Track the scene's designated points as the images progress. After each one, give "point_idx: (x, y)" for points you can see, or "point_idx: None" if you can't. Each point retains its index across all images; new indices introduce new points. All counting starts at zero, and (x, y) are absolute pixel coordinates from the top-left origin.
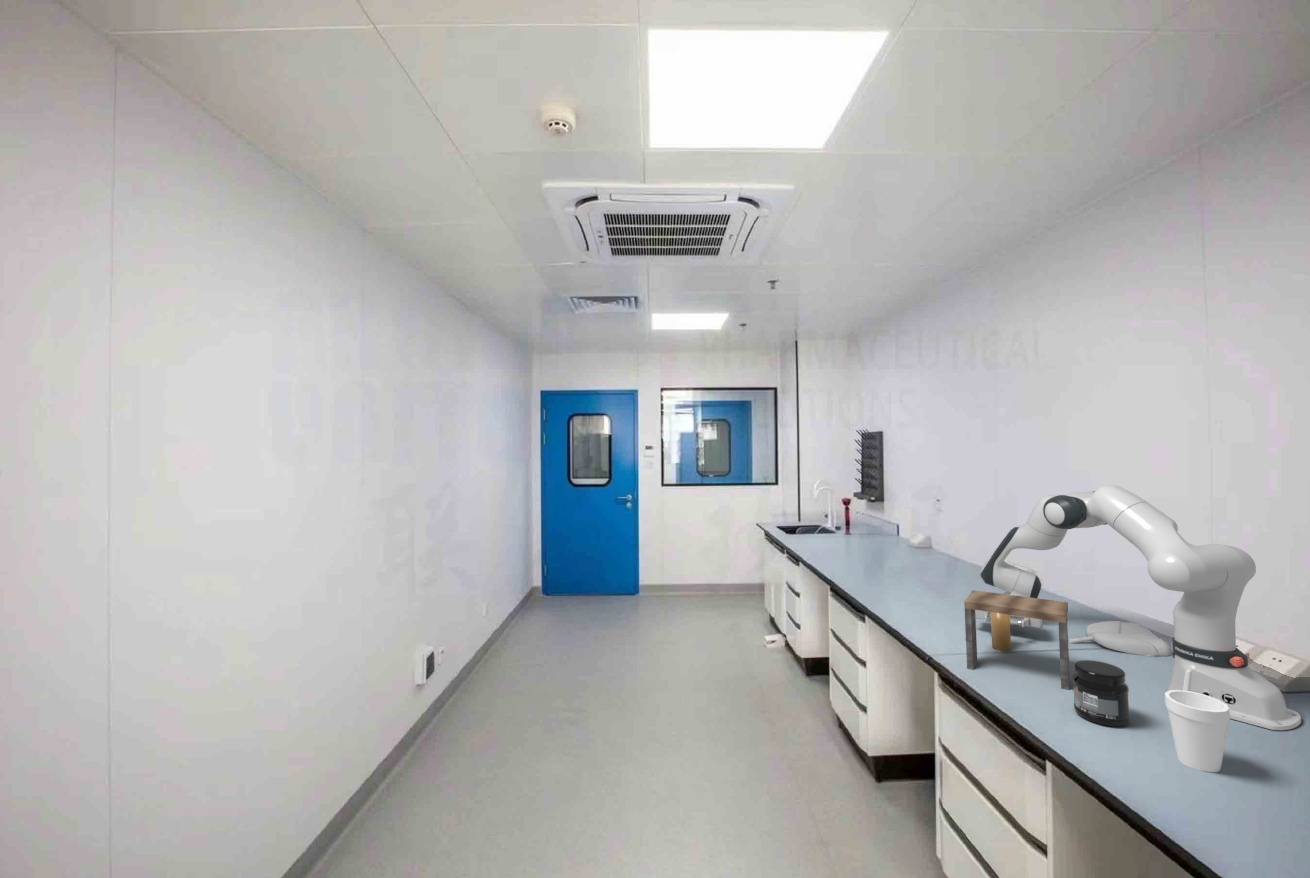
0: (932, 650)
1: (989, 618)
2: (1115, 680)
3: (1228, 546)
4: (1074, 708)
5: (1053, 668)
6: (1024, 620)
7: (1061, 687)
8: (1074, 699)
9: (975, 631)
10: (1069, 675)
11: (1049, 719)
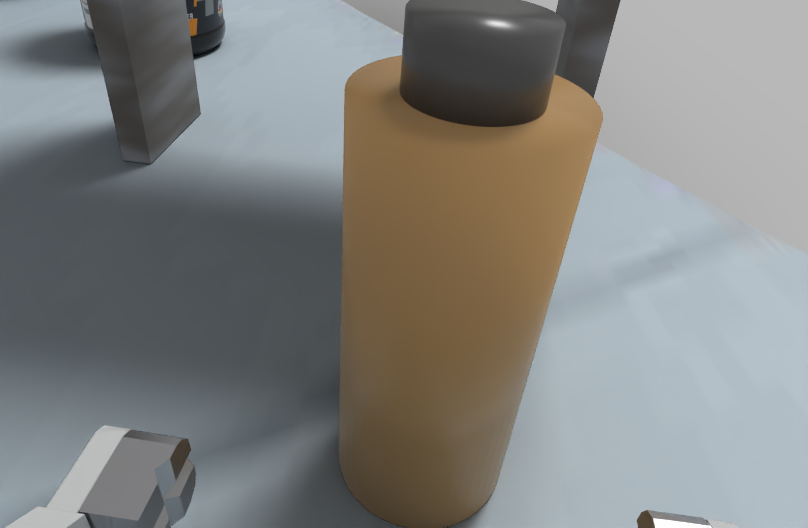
0: (792, 265)
1: (646, 511)
2: None
3: None
4: (223, 34)
5: (135, 238)
6: (32, 517)
7: (199, 110)
8: (221, 2)
9: (572, 21)
10: (118, 135)
11: (303, 27)
